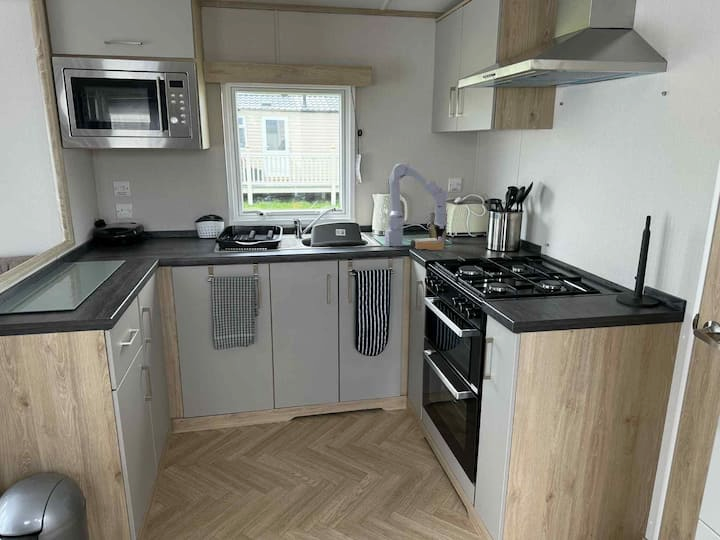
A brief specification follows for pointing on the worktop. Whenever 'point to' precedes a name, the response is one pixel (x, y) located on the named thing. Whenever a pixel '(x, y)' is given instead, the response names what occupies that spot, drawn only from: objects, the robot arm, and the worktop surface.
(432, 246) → the side door
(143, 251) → the worktop surface
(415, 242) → the pale upright slab
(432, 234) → the coffee box
